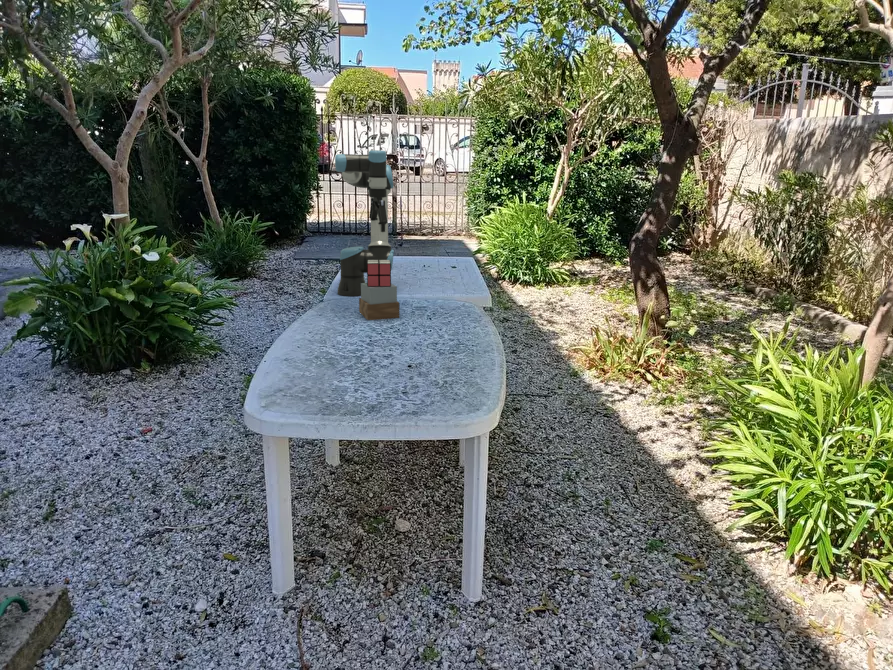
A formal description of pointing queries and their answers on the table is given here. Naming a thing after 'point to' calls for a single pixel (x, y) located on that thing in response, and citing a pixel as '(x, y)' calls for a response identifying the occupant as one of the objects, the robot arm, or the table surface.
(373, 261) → the puzzle cube
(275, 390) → the table surface
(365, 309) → the walnut block
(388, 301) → the slate block
